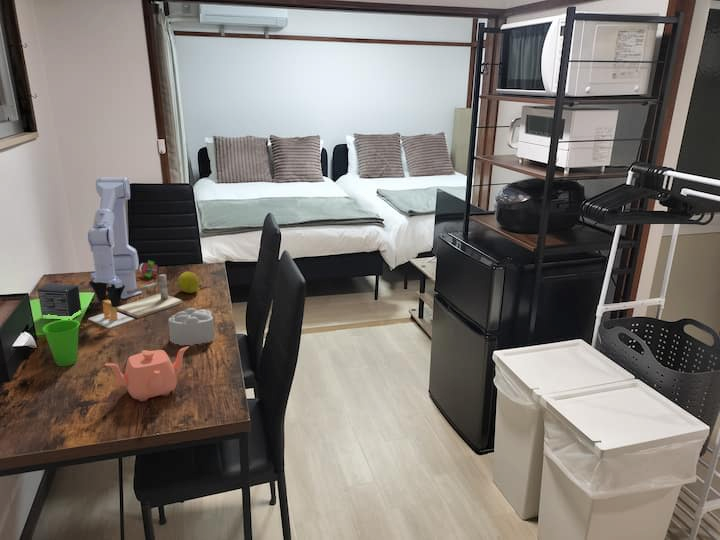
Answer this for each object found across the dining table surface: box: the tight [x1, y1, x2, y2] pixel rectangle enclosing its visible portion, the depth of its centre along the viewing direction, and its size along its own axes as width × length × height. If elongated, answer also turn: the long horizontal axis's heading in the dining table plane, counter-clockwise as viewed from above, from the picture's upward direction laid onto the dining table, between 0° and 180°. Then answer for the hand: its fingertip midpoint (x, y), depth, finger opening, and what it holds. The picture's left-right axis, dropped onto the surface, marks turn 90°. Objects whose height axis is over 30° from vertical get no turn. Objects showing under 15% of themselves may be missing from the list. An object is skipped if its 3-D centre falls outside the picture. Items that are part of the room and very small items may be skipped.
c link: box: [101, 298, 118, 321], centre depth 173 cm, size 5×2×6 cm, turn 57°
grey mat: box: [87, 311, 135, 329], centre depth 174 cm, size 12×9×1 cm
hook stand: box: [116, 274, 183, 319], centre depth 184 cm, size 12×18×10 cm, turn 146°
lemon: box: [177, 271, 200, 294], centre depth 199 cm, size 11×8×8 cm
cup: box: [41, 319, 81, 367], centre depth 144 cm, size 9×9×11 cm
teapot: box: [104, 346, 190, 402], centre depth 132 cm, size 14×14×11 cm
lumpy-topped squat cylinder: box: [167, 307, 215, 346], centre depth 162 cm, size 10×13×9 cm
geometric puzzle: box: [138, 259, 159, 279], centre depth 215 cm, size 7×7×8 cm
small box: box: [37, 283, 82, 316], centre depth 174 cm, size 11×6×10 cm, turn 84°
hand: (109, 303), depth 172 cm, fingers open, 7 cm apart
